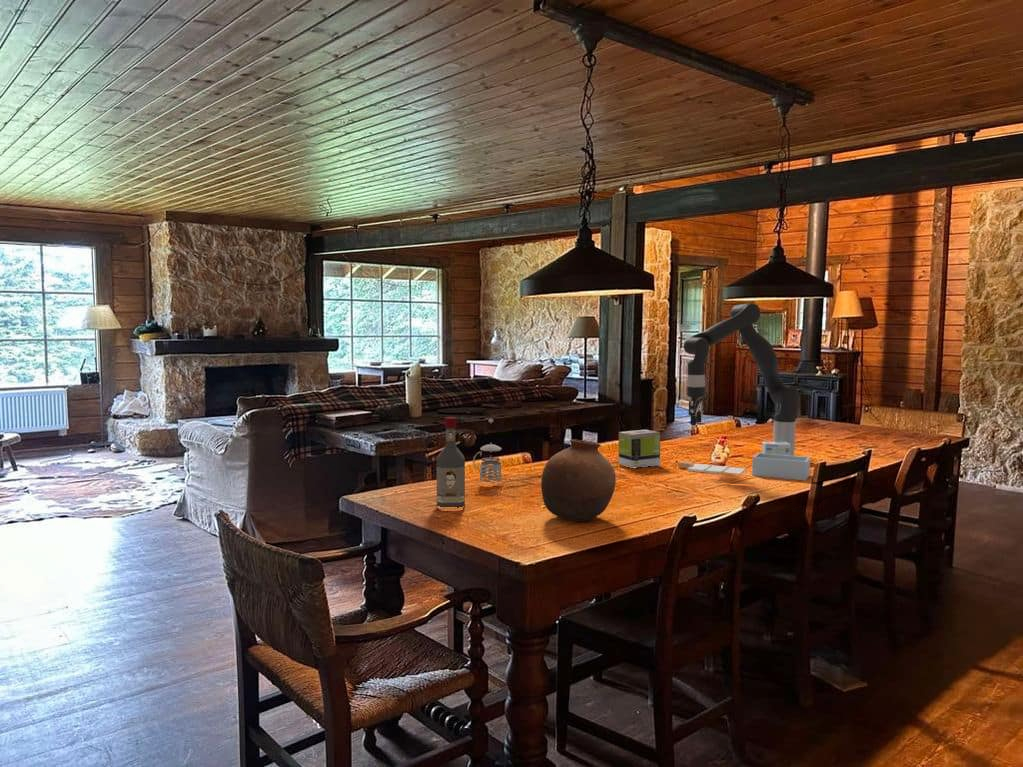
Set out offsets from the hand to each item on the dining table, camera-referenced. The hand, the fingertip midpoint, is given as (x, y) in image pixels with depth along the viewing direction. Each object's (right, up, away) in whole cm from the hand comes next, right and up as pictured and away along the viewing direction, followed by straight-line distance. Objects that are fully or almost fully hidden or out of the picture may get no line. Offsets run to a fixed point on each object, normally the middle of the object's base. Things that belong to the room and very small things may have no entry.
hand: (695, 423), depth 312 cm
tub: (+30, -20, -17) cm, 40 cm away
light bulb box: (+34, -19, +3) cm, 39 cm away
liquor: (-97, -24, -67) cm, 121 cm away
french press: (-86, -21, -31) cm, 94 cm away
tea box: (-23, -19, +6) cm, 30 cm away
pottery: (-57, -26, -80) cm, 101 cm away
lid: (+5, -19, -4) cm, 20 cm away
